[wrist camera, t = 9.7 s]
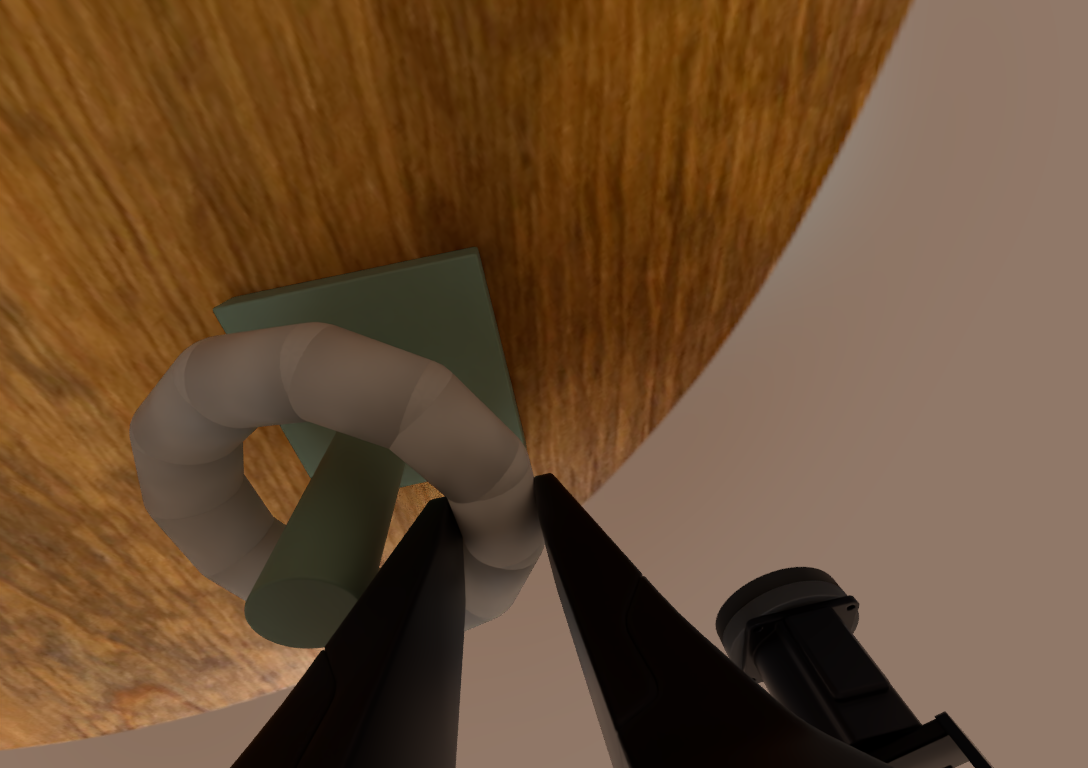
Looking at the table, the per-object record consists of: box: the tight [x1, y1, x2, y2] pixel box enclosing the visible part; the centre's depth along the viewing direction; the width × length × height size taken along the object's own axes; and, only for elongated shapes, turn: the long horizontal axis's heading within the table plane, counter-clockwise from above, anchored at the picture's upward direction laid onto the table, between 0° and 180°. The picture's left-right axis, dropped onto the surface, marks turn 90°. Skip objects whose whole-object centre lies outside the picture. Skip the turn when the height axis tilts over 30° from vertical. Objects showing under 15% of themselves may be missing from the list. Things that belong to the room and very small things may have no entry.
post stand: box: [213, 247, 527, 649], centre depth 12 cm, size 8×8×9 cm
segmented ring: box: [130, 322, 545, 631], centre depth 10 cm, size 9×9×2 cm
